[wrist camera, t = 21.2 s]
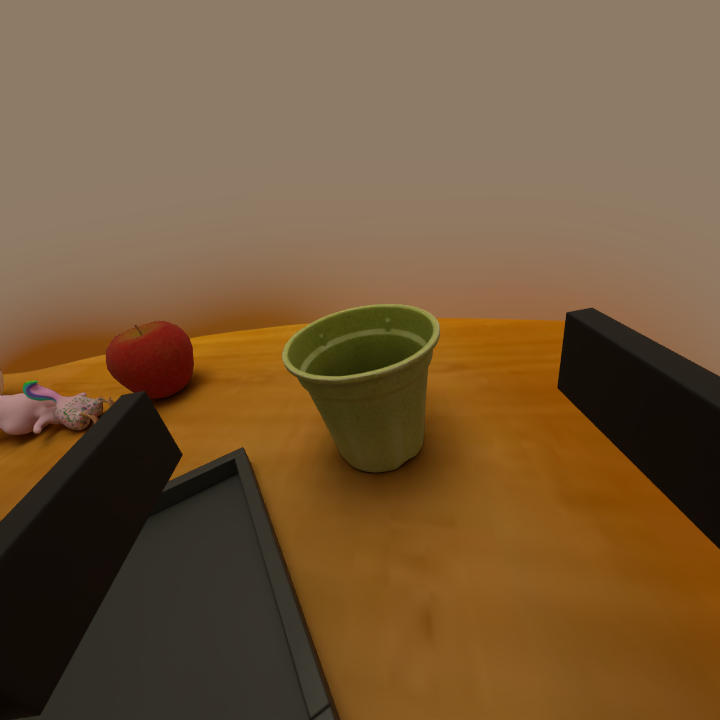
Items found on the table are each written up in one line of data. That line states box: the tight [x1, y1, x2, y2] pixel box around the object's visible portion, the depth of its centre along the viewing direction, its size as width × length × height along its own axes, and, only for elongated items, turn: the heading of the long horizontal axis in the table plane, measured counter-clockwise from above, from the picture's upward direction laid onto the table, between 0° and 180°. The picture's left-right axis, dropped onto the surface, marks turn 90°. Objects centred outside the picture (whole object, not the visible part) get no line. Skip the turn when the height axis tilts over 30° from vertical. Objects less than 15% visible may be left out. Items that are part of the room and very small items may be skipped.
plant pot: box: [282, 304, 440, 472], centre depth 23 cm, size 9×9×9 cm
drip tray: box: [13, 447, 340, 720], centre depth 16 cm, size 17×17×2 cm
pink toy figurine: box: [0, 380, 114, 435], centre depth 34 cm, size 6×6×15 cm
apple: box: [106, 321, 194, 399], centre depth 36 cm, size 8×8×8 cm
